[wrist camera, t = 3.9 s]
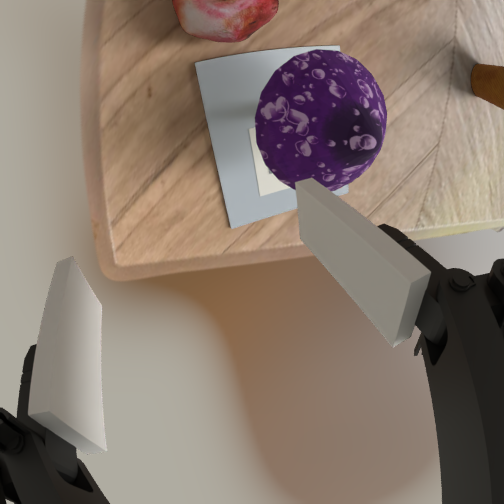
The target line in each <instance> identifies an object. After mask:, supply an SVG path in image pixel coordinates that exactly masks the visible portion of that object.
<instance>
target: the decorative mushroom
mask: <svg viewBox="0 0 504 504" xmlns="http://www.w3.org/2000/svg"><path fill="white" fill-rule="evenodd" d="M386 121H387V111H386V106H385V101H384V96H383V94H382V92H381V90H380V88H379V86H378V84H377V82H376V81H375V79H374V77H373V76H372V74H371V73H370V72H369V71H368V70H367V69H366V68H365V67H364V66H363V65H362V64H361V63H360V62H359V61H358V60H357V59H355V58H352V57H350V56H348V55H346V54H344V53H342V52H339V51H336V50H321V49H315V50H312V51H308V52H305V53H302V54H299V55H296V56H293V57H292V58H291V59H290V60H288V61H287V62H286V63H284V64H283V65H282V66H281V67H279V68H278V69H277V70H275V72H274V73H273V75H272V76H271V78H270V79H269V81H268V82H267V84H266V85H265V87H264V89H263V90H262V92H261V95H260V99H259V103H258V106H257V110H256V114H255V130H256V143H257V146H258V148H259V151H260V153H261V156H262V158H263V161H264V163H265V165H266V166H267V167H268V168H269V170H270V171H271V172H272V173H273V174H274V175H275V176H276V178H277V179H278V180H279V181H280V182H282V183H284V184H286V185H287V186H289V187H291V188H292V189H294V190H296V187H295V182H298V181H301V180H305V179H309V178H313V179H314V180H316V181H317V182H319V183H320V184H321V185H323V186H324V187H326V188H327V189H328V190H330V191H336V190H337V189H339V188H341V187H343V186H345V185H347V184H349V183H351V182H353V181H354V180H355V179H356V178H358V177H359V176H360V175H361V174H362V173H363V172H364V171H366V170H367V169H368V168H369V167H370V166H371V164H372V163H373V161H374V160H375V158H376V156H377V155H378V153H379V151H380V150H381V147H382V144H383V140H384V137H385V132H386Z"/></svg>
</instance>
